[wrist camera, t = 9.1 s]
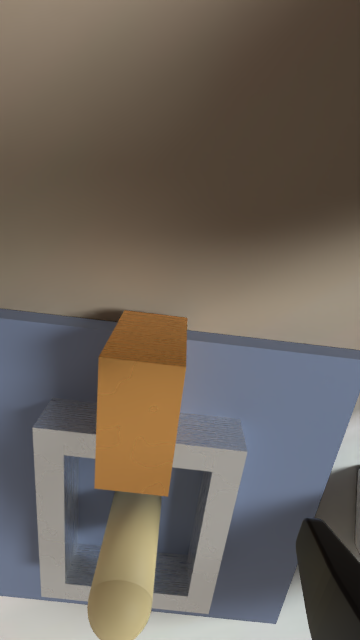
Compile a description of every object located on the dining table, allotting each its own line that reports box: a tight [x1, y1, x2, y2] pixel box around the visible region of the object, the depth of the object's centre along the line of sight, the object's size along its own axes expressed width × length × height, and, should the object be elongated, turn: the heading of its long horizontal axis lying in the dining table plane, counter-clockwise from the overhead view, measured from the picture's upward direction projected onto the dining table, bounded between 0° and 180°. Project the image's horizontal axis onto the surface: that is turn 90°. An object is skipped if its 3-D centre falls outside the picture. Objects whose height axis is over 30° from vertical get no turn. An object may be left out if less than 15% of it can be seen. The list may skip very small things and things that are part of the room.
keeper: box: [0, 309, 360, 640], centre depth 15 cm, size 18×18×7 cm
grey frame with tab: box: [32, 310, 248, 614], centre depth 14 cm, size 15×8×4 cm, turn 173°
